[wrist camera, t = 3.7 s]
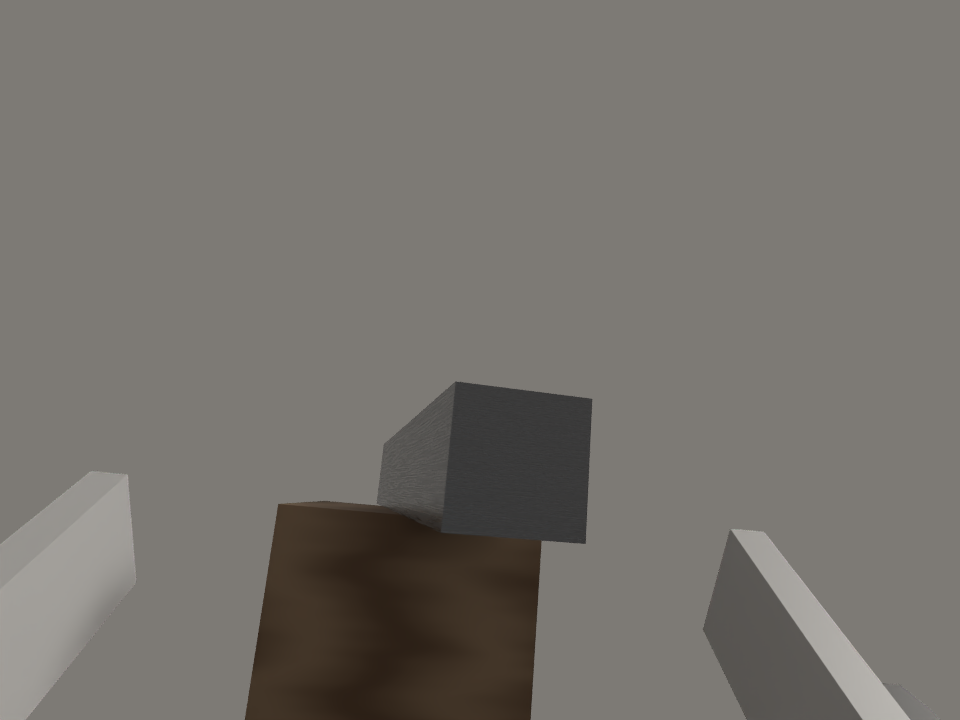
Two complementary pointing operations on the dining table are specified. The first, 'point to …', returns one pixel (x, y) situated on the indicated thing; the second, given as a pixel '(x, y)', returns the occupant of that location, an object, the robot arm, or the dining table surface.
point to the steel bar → (493, 464)
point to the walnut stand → (393, 620)
